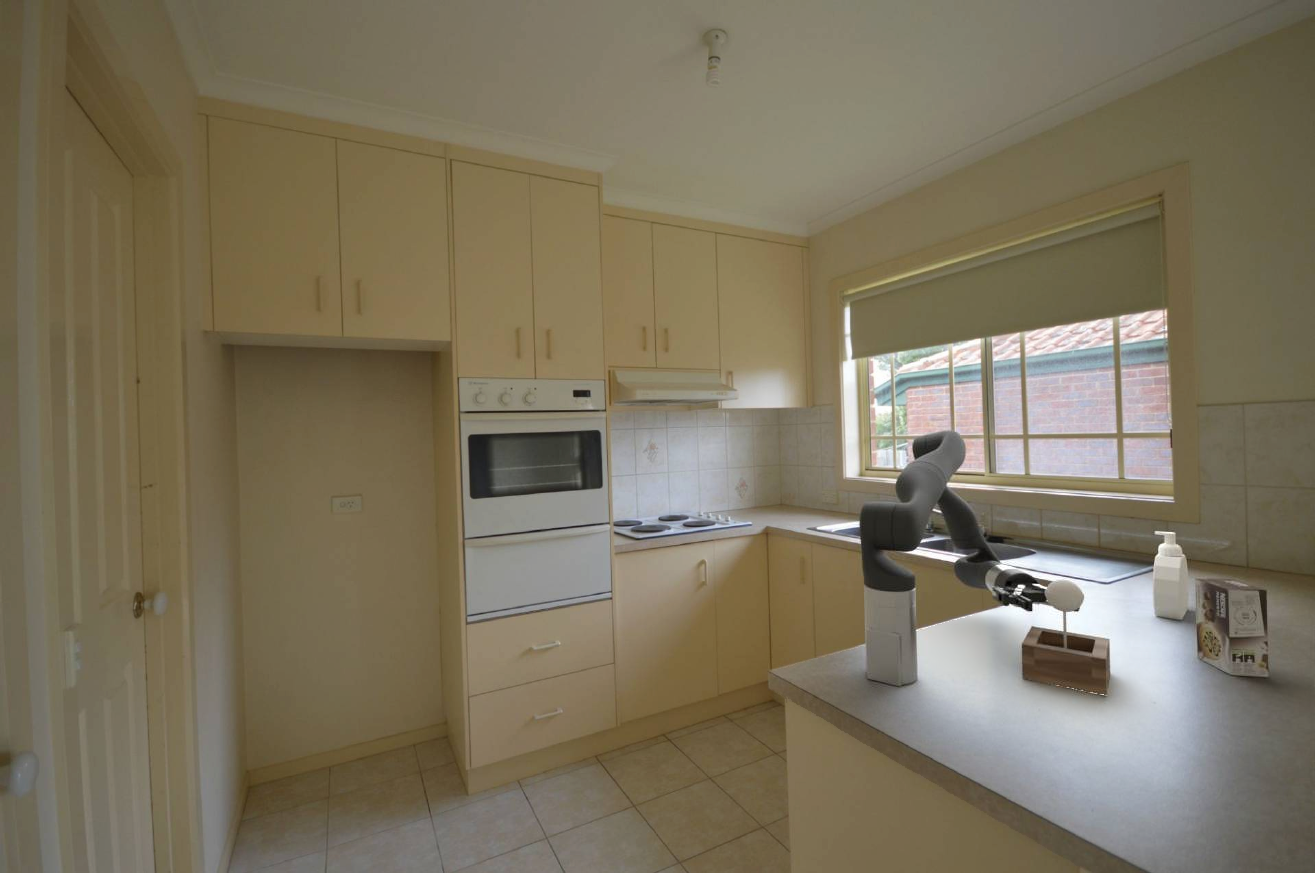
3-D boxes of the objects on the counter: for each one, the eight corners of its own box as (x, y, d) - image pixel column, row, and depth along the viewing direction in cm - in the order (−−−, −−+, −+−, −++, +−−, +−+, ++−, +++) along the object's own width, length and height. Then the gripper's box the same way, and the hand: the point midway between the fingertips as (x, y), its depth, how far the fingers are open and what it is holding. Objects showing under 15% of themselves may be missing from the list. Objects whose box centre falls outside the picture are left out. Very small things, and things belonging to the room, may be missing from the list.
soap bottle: (1161, 603, 152) (1159, 527, 152) (1188, 607, 148) (1187, 529, 148) (1151, 617, 141) (1149, 535, 141) (1180, 622, 137) (1178, 538, 137)
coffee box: (1271, 677, 107) (1269, 590, 107) (1229, 675, 108) (1228, 589, 108) (1232, 658, 116) (1231, 577, 116) (1195, 657, 117) (1193, 577, 117)
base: (1106, 696, 101) (1105, 659, 101) (1022, 678, 109) (1021, 643, 109) (1110, 672, 111) (1109, 638, 111) (1032, 657, 119) (1031, 626, 119)
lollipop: (1079, 655, 112) (1077, 577, 112) (1091, 667, 106) (1089, 584, 106) (1042, 652, 114) (1040, 575, 114) (1051, 663, 108) (1049, 582, 108)
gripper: (977, 568, 130) (1015, 587, 114) (1044, 567, 129) (1092, 587, 113) (978, 601, 130) (1015, 625, 114) (1045, 601, 129) (1093, 625, 113)
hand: (1053, 606), depth 113 cm, fingers open, 8 cm apart
